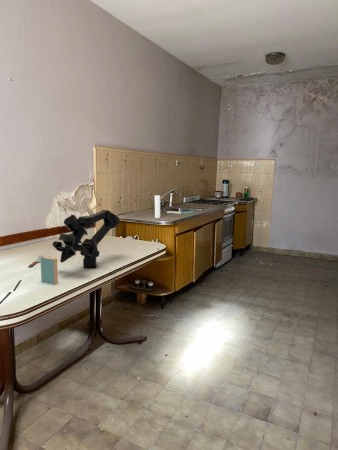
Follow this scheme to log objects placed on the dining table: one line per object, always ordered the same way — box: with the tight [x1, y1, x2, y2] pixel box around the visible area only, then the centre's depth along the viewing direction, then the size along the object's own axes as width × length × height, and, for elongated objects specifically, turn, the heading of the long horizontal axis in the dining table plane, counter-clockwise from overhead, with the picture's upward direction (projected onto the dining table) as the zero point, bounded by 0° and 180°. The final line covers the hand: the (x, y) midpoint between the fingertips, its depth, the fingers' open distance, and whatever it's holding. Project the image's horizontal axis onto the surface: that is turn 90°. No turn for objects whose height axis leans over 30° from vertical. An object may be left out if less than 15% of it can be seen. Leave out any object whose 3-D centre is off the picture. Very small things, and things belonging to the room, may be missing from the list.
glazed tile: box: [40, 255, 59, 285], centre depth 154 cm, size 2×8×12 cm, turn 64°
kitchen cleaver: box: [28, 254, 53, 269], centre depth 190 cm, size 24×1×10 cm
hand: (61, 262), depth 161 cm, fingers closed
